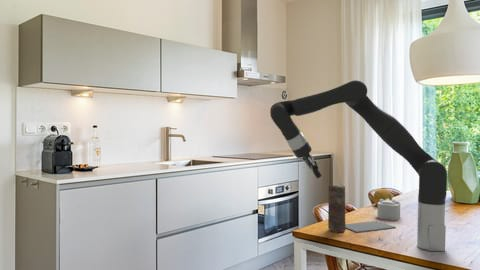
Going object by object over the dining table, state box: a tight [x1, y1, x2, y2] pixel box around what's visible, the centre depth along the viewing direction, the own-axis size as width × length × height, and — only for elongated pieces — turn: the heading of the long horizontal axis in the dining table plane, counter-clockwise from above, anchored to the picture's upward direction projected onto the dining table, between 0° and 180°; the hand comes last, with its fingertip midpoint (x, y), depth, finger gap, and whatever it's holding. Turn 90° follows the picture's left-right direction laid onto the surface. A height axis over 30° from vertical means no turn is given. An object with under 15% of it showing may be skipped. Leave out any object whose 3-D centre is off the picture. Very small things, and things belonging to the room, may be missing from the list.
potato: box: [372, 188, 393, 207], centre depth 222 cm, size 10×12×10 cm
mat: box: [345, 220, 397, 233], centre depth 174 cm, size 22×12×1 cm, turn 112°
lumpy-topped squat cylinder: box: [376, 198, 401, 221], centre depth 195 cm, size 10×13×9 cm
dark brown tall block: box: [327, 184, 346, 233], centre depth 167 cm, size 8×7×20 cm
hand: (319, 176), depth 165 cm, fingers closed
